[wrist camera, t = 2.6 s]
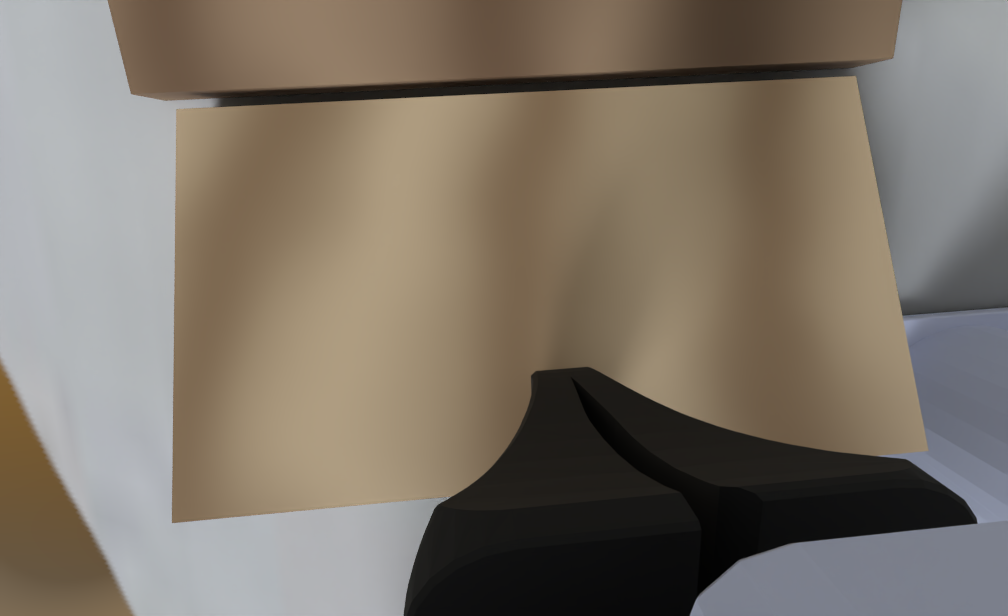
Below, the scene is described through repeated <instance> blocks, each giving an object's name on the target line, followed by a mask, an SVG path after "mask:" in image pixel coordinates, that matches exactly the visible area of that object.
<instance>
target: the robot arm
mask: <svg viewBox="0 0 1008 616" xmlns="http://www.w3.org/2000/svg"><path fill="white" fill-rule="evenodd" d="M903 321H904V326H905V332H906V337H907V342H908V347H909V352H910V357H911V363H912V368H913V373H914V378H915V383H916V388H917V394H918V399H919V404H920V409H921V414H922V419H923V424H924V430H925V435H926V440H927V445H928V450H929V451H923V452H913V453H902V454H892V455H881V456H871V455H862V454H852V453H842V452H834V451H827V450H821V449H815V448H809V447H803V446H797V445H791V444H786V443H782V442H777V441H772V440H767V439H763V438H759V437H755V436H751V435H748V434H744V433H740V432H736V431H732V430H729V429H726V428H722V427H719V426H716V425H713V424H710V423H707V422H704V421H702V420H699V419H696V418H693V417H690V416H688V415H685V414H683V413H680V412H678V411H675V410H673V409H671V408H669V407H666V406H664V405H662V404H660V403H658V402H655V401H653V400H651V399H649V398H647V397H645V396H643V395H641V394H639V393H637V392H635V391H634V390H632V389H630V388H628V387H626V386H624V385H622V384H621V383H619V382H617V381H615V380H613V379H612V378H610V377H608V376H606V375H604V374H602V373H601V372H599V371H597V370H595V369H593V368H590V367H578V368H566V369H553V370H541V371H535V372H534V373H533V374H532V375H531V398H530V402H529V405H528V408H527V411H526V413H525V416H524V418H523V420H522V422H521V425H520V427H519V429H518V431H517V432H516V434H515V436H514V438H513V439H512V441H511V442H510V444H509V445H508V447H507V448H506V450H505V451H504V452H503V453H502V455H501V456H500V457H499V459H498V460H497V461H496V462H495V463H494V465H493V466H492V467H491V468H490V469H489V470H488V471H487V472H486V473H485V474H483V475H482V476H481V477H480V478H479V479H477V480H476V481H475V482H474V483H472V484H471V485H470V486H468V487H467V488H465V489H464V490H462V491H460V492H459V493H457V494H455V495H454V496H452V497H451V498H449V499H447V500H446V501H444V502H442V503H440V504H438V506H437V507H436V508H435V509H434V511H433V514H432V516H431V518H430V521H429V523H428V526H427V528H426V530H425V533H424V535H423V538H422V541H421V544H420V547H419V549H418V552H417V555H416V559H415V562H414V565H413V569H412V573H411V576H410V580H409V584H408V589H407V594H406V601H405V609H404V616H1008V307H1006V308H994V309H981V310H968V311H955V312H943V313H930V314H917V315H904V316H903Z"/></svg>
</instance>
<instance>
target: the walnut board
mask: <svg viewBox="0 0 1008 616" xmlns="http://www.w3.org/2000/svg"><path fill="white" fill-rule="evenodd" d="M108 3H109V7H110V11H111V15H112V19H113V23H114V27H115V31H116V35H117V39H118V43H119V47H120V51H121V55H122V59H123V63H124V67H125V71H126V75H127V79H128V83H129V87H130V91H131V94H133V95H138V96H144V97H149V98H154V99H159V100H165V101H168V100H189V99H209V98H230V97H251V96H272V95H293V94H314V93H335V92H355V91H376V90H397V89H418V88H439V87H460V86H481V85H501V84H522V83H543V82H564V81H585V80H606V79H627V78H648V77H668V76H689V75H710V74H731V73H752V72H773V71H794V70H814V69H835V68H853V67H858V66H862V65H866V64H871V63H875V62H879V61H884V60H888V59H892V58H893V56H894V50H895V43H896V37H897V31H898V24H899V18H900V11H901V5H902V0H108Z"/></svg>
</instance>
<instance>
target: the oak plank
mask: <svg viewBox="0 0 1008 616" xmlns="http://www.w3.org/2000/svg"><path fill="white" fill-rule="evenodd" d="M578 367H590V368H593V369H595V370H597V371H599V372H601V373H602V374H604V375H606V376H608V377H610V378H612V379H613V380H615V381H617V382H619V383H621V384H622V385H624V386H626V387H628V388H630V389H632V390H634V391H635V392H637V393H639V394H641V395H643V396H645V397H647V398H649V399H651V400H653V401H655V402H658V403H660V404H662V405H664V406H666V407H669V408H671V409H673V410H675V411H678V412H680V413H683V414H685V415H688V416H690V417H693V418H696V419H699V420H702V421H704V422H707V423H710V424H713V425H716V426H719V427H722V428H726V429H729V430H732V431H736V432H740V433H744V434H748V435H751V436H755V437H759V438H763V439H767V440H772V441H777V442H782V443H786V444H791V445H797V446H803V447H809V448H815V449H821V450H827V451H834V452H842V453H852V454H862V455H871V456H881V455H892V454H902V453H913V452H923V451H929V450H928V445H927V440H926V435H925V430H924V424H923V419H922V414H921V409H920V404H919V399H918V394H917V388H916V383H915V378H914V373H913V368H912V363H911V357H910V352H909V347H908V342H907V337H906V332H905V326H904V321H903V316H902V311H901V306H900V301H899V296H898V290H897V285H896V280H895V275H894V270H893V265H892V259H891V254H890V249H889V244H888V239H887V234H886V228H885V223H884V218H883V213H882V208H881V203H880V198H879V192H878V187H877V182H876V177H875V172H874V167H873V161H872V156H871V151H870V146H869V141H868V136H867V131H866V125H865V120H864V115H863V110H862V105H861V100H860V94H859V89H858V84H857V79H856V76H846V77H825V78H805V79H785V80H764V81H744V82H723V83H703V84H682V85H662V86H642V87H621V88H601V89H580V90H560V91H539V92H519V93H499V94H478V95H458V96H437V97H417V98H396V99H376V100H356V101H335V102H315V103H294V104H274V105H253V106H233V107H213V108H192V109H177V110H176V203H175V295H174V387H173V480H172V523H177V522H187V521H198V520H208V519H219V518H229V517H240V516H250V515H261V514H271V513H282V512H293V511H303V510H314V509H324V508H335V507H345V506H356V505H366V504H377V503H387V502H398V501H408V500H419V499H429V498H440V497H450V496H454V495H455V494H457V493H459V492H460V491H462V490H464V489H465V488H467V487H468V486H470V485H471V484H472V483H474V482H475V481H476V480H477V479H479V478H480V477H481V476H482V475H483V474H485V473H486V472H487V471H488V470H489V469H490V468H491V467H492V466H493V465H494V463H495V462H496V461H497V460H498V459H499V457H500V456H501V455H502V453H503V452H504V451H505V450H506V448H507V447H508V445H509V444H510V442H511V441H512V439H513V438H514V436H515V434H516V432H517V431H518V429H519V427H520V425H521V422H522V420H523V418H524V416H525V413H526V411H527V408H528V405H529V402H530V398H531V375H532V374H533V373H534V372H535V371H541V370H553V369H566V368H578Z"/></svg>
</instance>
